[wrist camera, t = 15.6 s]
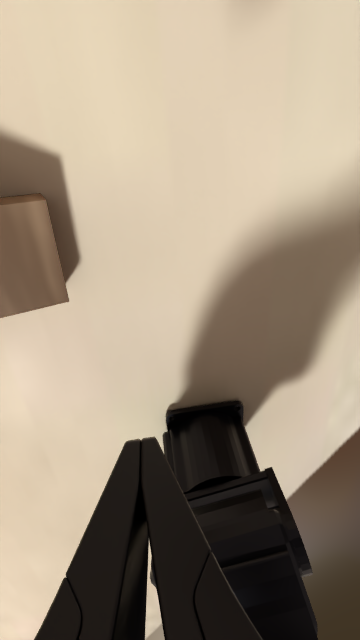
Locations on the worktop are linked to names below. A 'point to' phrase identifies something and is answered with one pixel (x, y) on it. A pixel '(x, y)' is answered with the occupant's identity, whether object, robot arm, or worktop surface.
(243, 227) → the worktop surface
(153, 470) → the robot arm
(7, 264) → the domino
